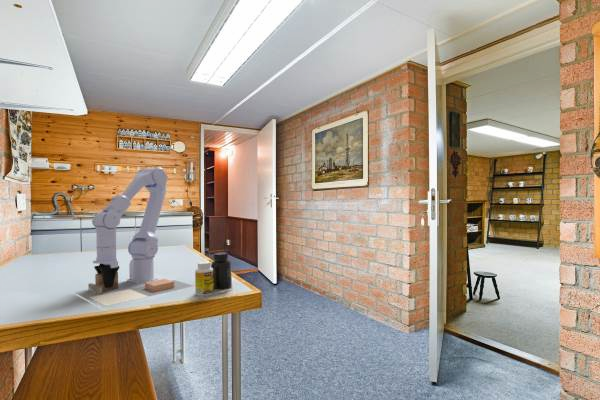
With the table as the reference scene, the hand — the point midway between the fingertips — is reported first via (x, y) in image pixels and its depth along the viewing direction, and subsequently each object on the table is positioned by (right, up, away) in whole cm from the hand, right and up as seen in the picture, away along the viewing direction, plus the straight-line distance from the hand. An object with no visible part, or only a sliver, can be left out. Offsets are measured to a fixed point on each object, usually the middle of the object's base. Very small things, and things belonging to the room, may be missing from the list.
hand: (106, 286), depth 109 cm
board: (+14, -1, -3) cm, 15 cm away
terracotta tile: (+18, -1, +1) cm, 18 cm away
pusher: (0, -1, 0) cm, 1 cm away
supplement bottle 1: (+35, -1, -6) cm, 36 cm away
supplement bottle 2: (+39, -1, +1) cm, 39 cm away
